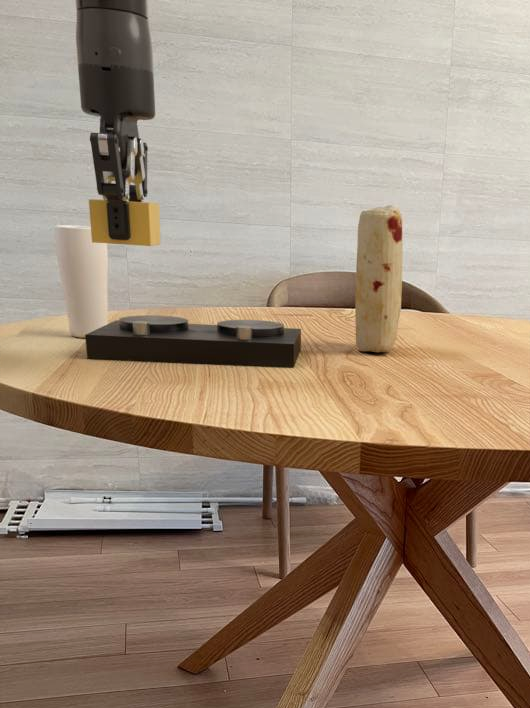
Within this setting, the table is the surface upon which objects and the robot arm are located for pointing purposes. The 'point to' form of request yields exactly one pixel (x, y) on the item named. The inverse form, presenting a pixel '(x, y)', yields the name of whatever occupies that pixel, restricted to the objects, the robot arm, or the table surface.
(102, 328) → the stove
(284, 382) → the table surface
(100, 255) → the drinking glass
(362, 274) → the food model
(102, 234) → the cheese
